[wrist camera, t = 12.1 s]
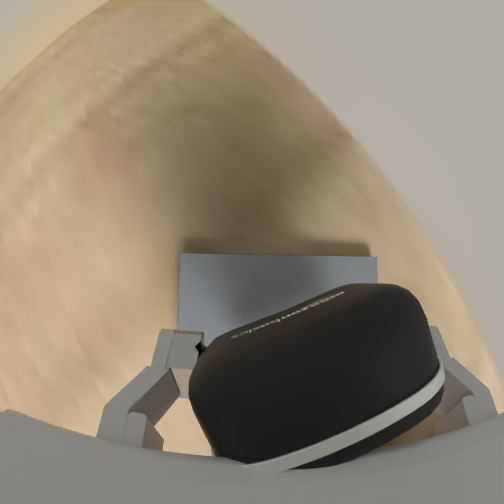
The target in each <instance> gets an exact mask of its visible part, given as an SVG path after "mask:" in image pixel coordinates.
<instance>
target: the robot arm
mask: <svg viewBox="0 0 504 504" xmlns="http://www.w3.org/2000/svg"><path fill="white" fill-rule="evenodd" d="M429 328H430V331H431V335H432V339H433V342H434V346H435V350H436V353H437V355H438V356H439V357H440V358H441V360H442V364H443V368H444V373H445V380H444V382H443V383H444V393H443V396H442V399H441V402H440V404H439V405H438V407H437V408H436V409H437V410H438V412H439V413H440V414H441V415H442V416H443V417H442V418H440V419H439V420H438V421H437V422H436V423H435V424H434V430H435V434H436V436H432V437H428V438H424V439H420V440H416V441H412V442H408V443H403V444H398V445H393V446H388V447H383V448H377V449H374V450H372V451H370V452H368V453H366V454H364V455H362V456H360V457H358V458H356V459H354V460H352V461H349V462H346V463H342V464H339V465H335V466H331V467H323V468H315V469H297V470H285V471H282V472H278V473H266V472H261V471H255V470H251V469H248V468H245V467H242V466H241V465H243V464H245V463H242V462H239V461H235V460H231V459H229V458H226V457H213V456H201V455H191V454H182V453H174V452H167V451H162V450H163V442H164V440H163V438H162V437H161V436H160V434H159V433H158V432H157V430H156V429H155V428H154V426H155V425H156V423H157V422H158V421H159V420H160V419H161V417H162V416H163V415H164V414H165V413H166V411H167V410H168V409H169V408H170V407H171V405H172V404H173V403H174V402H175V400H176V399H177V398H178V397H179V396H180V393H182V394H188V390H189V378H190V375H191V373H192V371H193V368H194V366H195V364H196V362H197V360H198V359H199V357H200V355H201V354H202V352H203V351H204V349H205V348H206V345H205V344H204V338H205V337H204V332H197V331H184V330H172V329H161V331H160V333H159V336H158V340H157V344H156V348H155V352H154V356H153V360H152V364H151V366H147V367H146V368H145V369H143V370H142V371H141V372H140V373H139V374H138V375H137V376H136V377H135V378H134V379H133V380H132V381H131V382H129V383H128V384H127V385H126V386H125V387H124V388H123V389H122V390H121V391H120V392H119V393H118V394H117V395H115V396H114V397H113V398H112V399H111V400H110V401H109V402H108V403H107V404H106V405H105V406H104V410H103V414H102V417H101V421H100V425H99V429H98V433H97V437H92V436H89V435H85V434H81V433H78V432H75V431H71V430H68V429H65V428H62V427H58V426H55V425H52V424H49V423H47V422H44V421H41V420H38V419H35V418H33V417H30V416H28V415H25V414H23V413H20V412H18V411H15V410H11V409H8V410H5V411H3V412H2V413H0V504H504V412H503V413H501V414H498V413H497V410H496V407H495V405H494V402H493V399H492V396H491V393H490V391H489V389H488V388H487V387H486V386H485V385H484V384H483V383H482V382H481V381H479V380H478V379H477V378H476V377H475V376H474V375H473V374H471V373H470V372H469V371H468V370H467V369H466V368H464V367H463V366H462V365H461V364H460V363H459V362H458V361H456V360H455V359H454V358H450V356H449V354H448V351H447V349H446V347H445V344H444V342H443V340H442V337H441V335H440V333H439V330H438V328H437V327H436V326H429Z"/></svg>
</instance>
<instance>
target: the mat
mask: <svg viewBox="0 0 504 504" xmlns="http://www.w3.org/2000/svg"><path fill="white" fill-rule="evenodd" d="M353 283H377V257H362V256H302V255H246V254H193V253H180V271H179V308H178V330H184V331H197V332H204V337H205V338H204V344H205V345H206V347H207V346H208V345H209V344H210V343H211V342H213V340H214V339H215V338H216V337H218V336H220V335H222V334H224V333H226V332H228V331H231V330H233V329H236V328H238V327H241V326H244V325H246V324H249V323H252V322H254V321H257V320H259V319H262V318H265V317H268V316H270V315H273V314H276V313H278V312H281V311H283V310H286V309H288V308H291V307H293V306H295V305H297V304H300V303H302V302H304V301H306V300H309V299H311V298H313V297H316V296H318V295H320V294H323V293H325V292H327V291H329V290H332V289H334V288H337V287H340V286H343V285H346V284H353ZM179 398H189V396H188V394H182V393H180V396H179Z"/></svg>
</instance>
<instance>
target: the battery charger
mask: <svg viewBox="0 0 504 504" xmlns="http://www.w3.org/2000/svg"><path fill="white" fill-rule="evenodd" d="M444 380H445V373H444V368H443V364H442V360H441V358H440V357H439V356H438V355H437V353H436V350H435V346H434V342H433V339H432V335H431V331H430V328H429V325H428V321H427V318H426V316H425V314H424V311H423V309H422V307H421V305H420V303H419V301H418V300H417V299H416V298H415V296H414V295H413V294H412V293H411V292H410V291H409V290H407V289H405V288H402V287H400V286H398V285H393V284H378V283H353V284H346V285H343V286H340V287H337V288H334V289H332V290H329V291H327V292H325V293H323V294H320V295H318V296H316V297H313V298H311V299H309V300H306V301H304V302H302V303H300V304H297V305H295V306H293V307H291V308H288V309H286V310H283V311H281V312H278V313H276V314H273V315H270V316H268V317H265V318H262V319H259V320H257V321H254V322H252V323H249V324H246V325H244V326H241V327H238V328H236V329H233V330H231V331H228V332H226V333H224V334H222V335H220V336H218V337H216V338H215V339H214V340H213V342H211V343H210V344H209V345H208V346H207V347H206V348H205V349H204V351H203V352H202V354H201V355H200V357H199V359H198V360H197V362H196V364H195V366H194V368H193V371H192V373H191V375H190V378H189V390H188V396H189V399H190V402H191V405H192V408H193V411H194V414H195V416H196V418H197V420H198V422H199V424H200V426H201V428H202V430H203V432H204V434H205V436H206V438H207V440H208V442H209V444H210V445H211V451H212V456H213V457H226V458H229V459H231V460H235V461H239V462H242V463H245V464H243V465H241V466H242V467H245V468H248V469H251V470H255V471H261V472H266V473H278V472H282V471H285V470H297V469H315V468H323V467H331V466H335V465H339V464H342V463H346V462H349V461H352V460H354V459H356V458H358V457H360V456H362V455H364V454H366V453H368V452H370V451H372V450H374V449H376V448H378V447H380V446H382V445H384V444H386V443H387V442H389V441H391V440H393V439H395V438H396V437H398V436H400V435H401V434H403V433H405V432H407V431H408V430H410V429H411V428H413V427H415V426H416V425H418V424H419V423H420V422H422V421H423V420H424V419H426V418H427V417H428V416H430V415H431V414H432V413H433V411H434V410H435V409H436V408H437V407H438V405H439V404H440V402H441V399H442V396H443V393H444V383H443V382H444Z"/></svg>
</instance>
